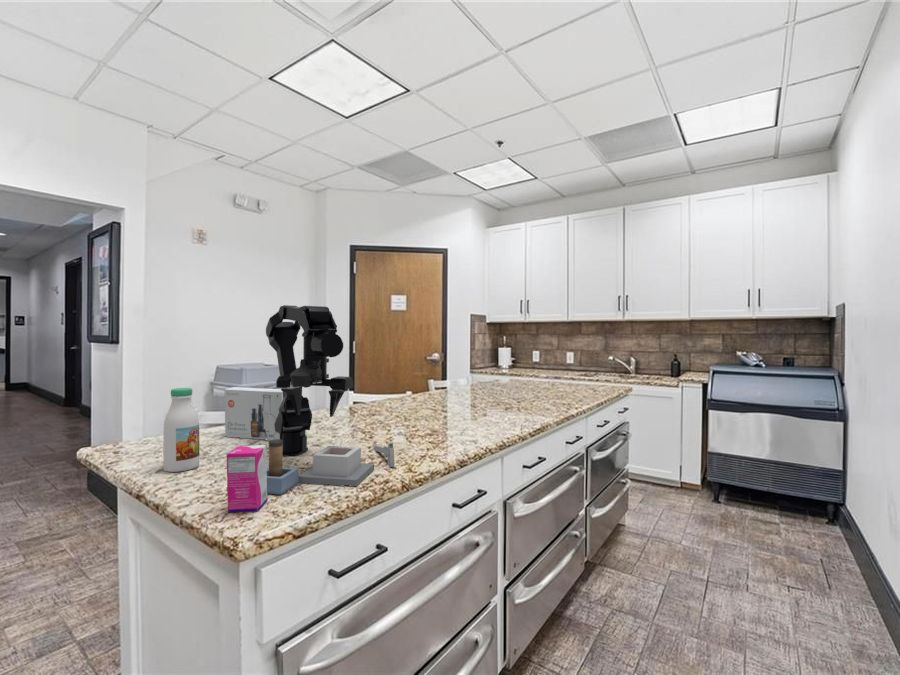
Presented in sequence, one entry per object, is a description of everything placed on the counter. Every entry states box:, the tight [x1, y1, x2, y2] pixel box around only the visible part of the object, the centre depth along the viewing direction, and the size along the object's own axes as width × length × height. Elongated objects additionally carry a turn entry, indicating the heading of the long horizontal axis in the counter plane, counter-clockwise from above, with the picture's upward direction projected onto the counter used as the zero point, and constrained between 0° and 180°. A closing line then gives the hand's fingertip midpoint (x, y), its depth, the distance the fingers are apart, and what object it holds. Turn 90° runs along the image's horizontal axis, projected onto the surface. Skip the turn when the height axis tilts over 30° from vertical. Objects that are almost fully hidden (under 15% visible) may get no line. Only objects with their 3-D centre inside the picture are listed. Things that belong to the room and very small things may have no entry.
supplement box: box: [226, 444, 268, 513], centre depth 86 cm, size 6×6×12 cm
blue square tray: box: [267, 467, 300, 496], centre depth 96 cm, size 7×7×4 cm
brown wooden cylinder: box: [268, 439, 284, 477], centre depth 96 cm, size 3×3×10 cm
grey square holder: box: [299, 445, 375, 487], centre depth 104 cm, size 14×12×6 cm
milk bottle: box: [162, 387, 200, 473], centre depth 109 cm, size 8×8×20 cm
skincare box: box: [224, 386, 284, 441], centre depth 141 cm, size 21×5×16 cm, turn 77°
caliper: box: [372, 442, 395, 468], centre depth 120 cm, size 20×1×6 cm, turn 22°
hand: (314, 415), depth 112 cm, fingers open, 9 cm apart
